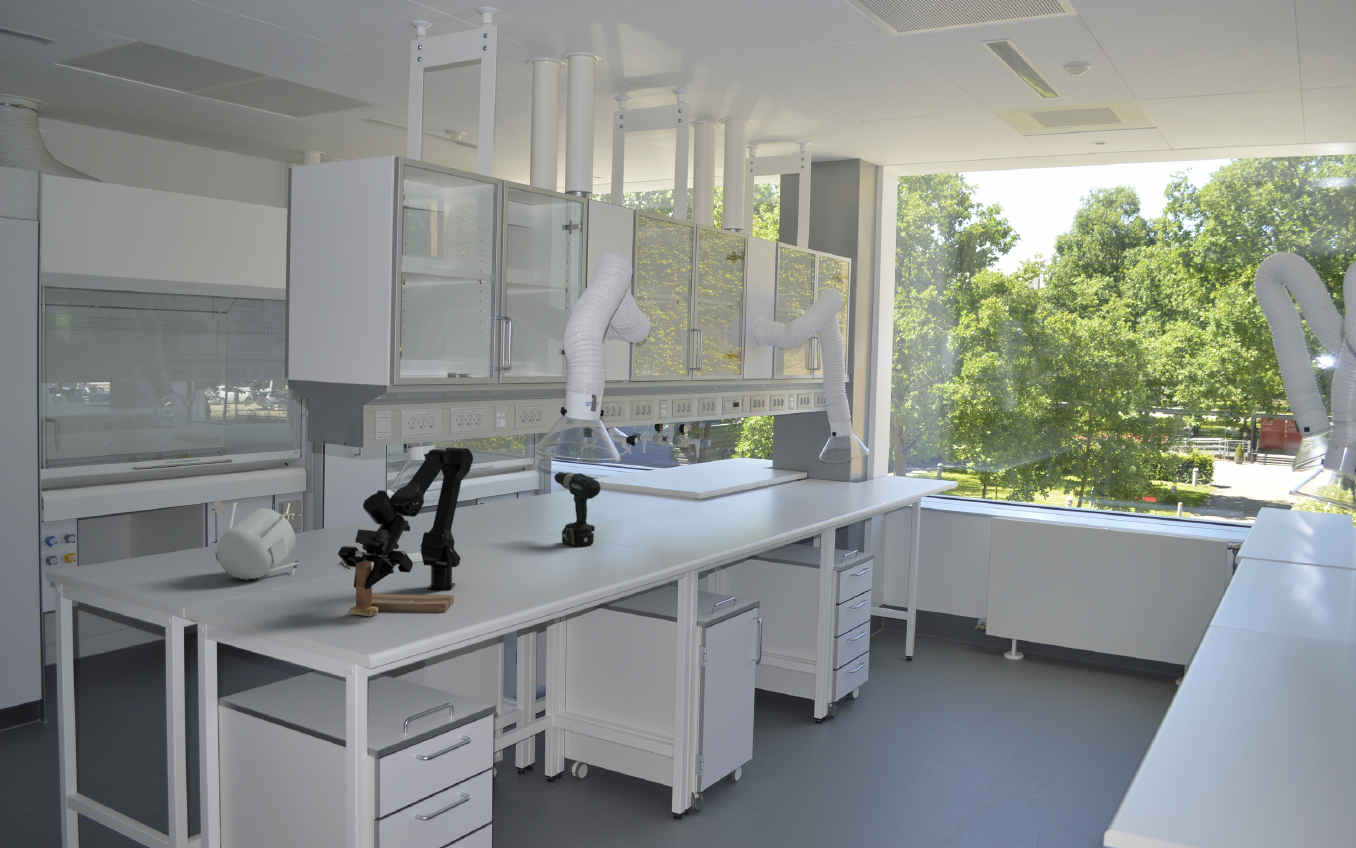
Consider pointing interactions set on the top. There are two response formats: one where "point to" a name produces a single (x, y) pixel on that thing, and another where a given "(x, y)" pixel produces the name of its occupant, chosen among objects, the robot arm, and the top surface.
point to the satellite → (255, 543)
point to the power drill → (579, 507)
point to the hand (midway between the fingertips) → (360, 588)
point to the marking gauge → (363, 591)
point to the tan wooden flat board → (412, 602)
